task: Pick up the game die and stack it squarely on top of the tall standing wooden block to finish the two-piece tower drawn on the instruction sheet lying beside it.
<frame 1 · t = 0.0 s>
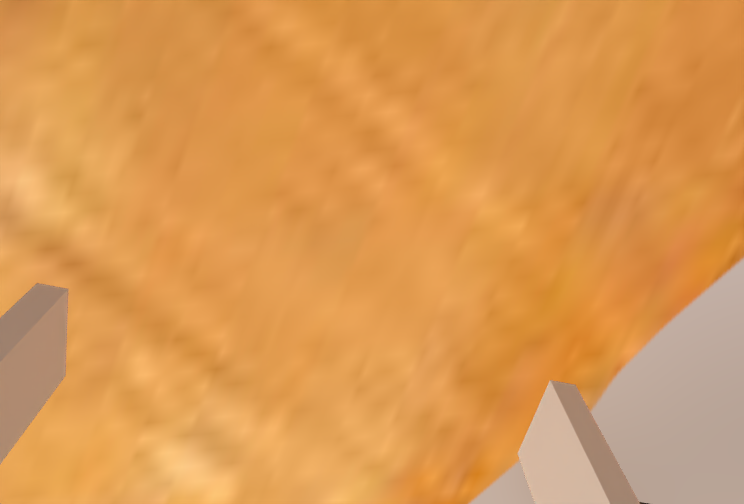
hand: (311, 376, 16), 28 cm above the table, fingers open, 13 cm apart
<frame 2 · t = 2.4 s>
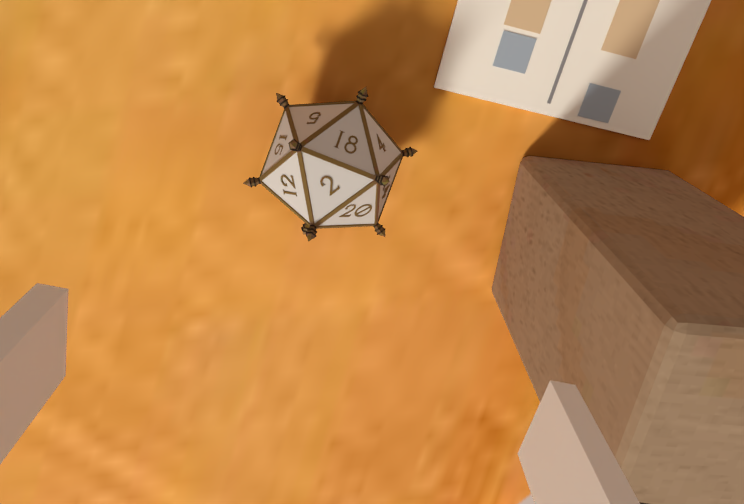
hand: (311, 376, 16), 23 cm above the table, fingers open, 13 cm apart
instruction page: (573, 29, 34), on the table
wooden block: (575, 231, 40), on the table
game die: (334, 147, 37), on the table
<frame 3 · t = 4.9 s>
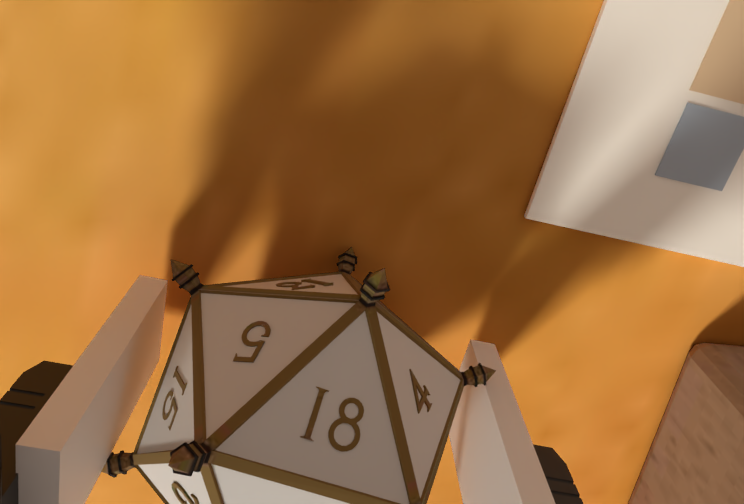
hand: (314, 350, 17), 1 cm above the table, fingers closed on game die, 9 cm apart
game die: (315, 327, 18), on the table, touching gripper
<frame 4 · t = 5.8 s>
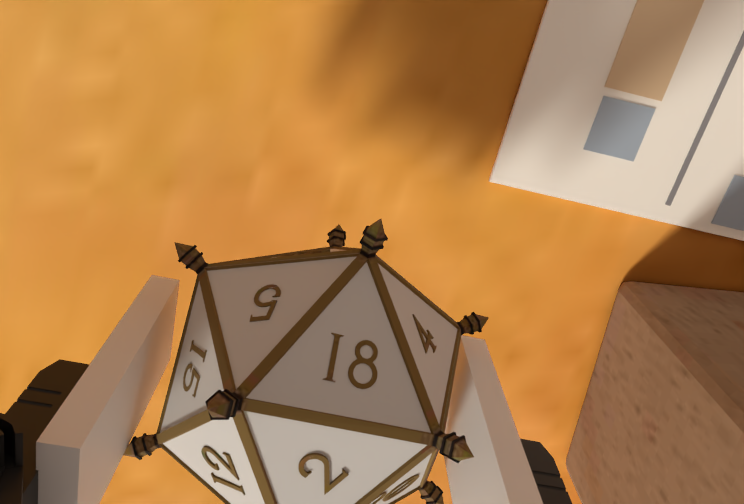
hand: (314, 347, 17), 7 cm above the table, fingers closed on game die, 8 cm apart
instruction page: (714, 93, 21), on the table
wooden block: (692, 383, 27), on the table
game die: (311, 307, 19), point 5 cm above the table, touching gripper
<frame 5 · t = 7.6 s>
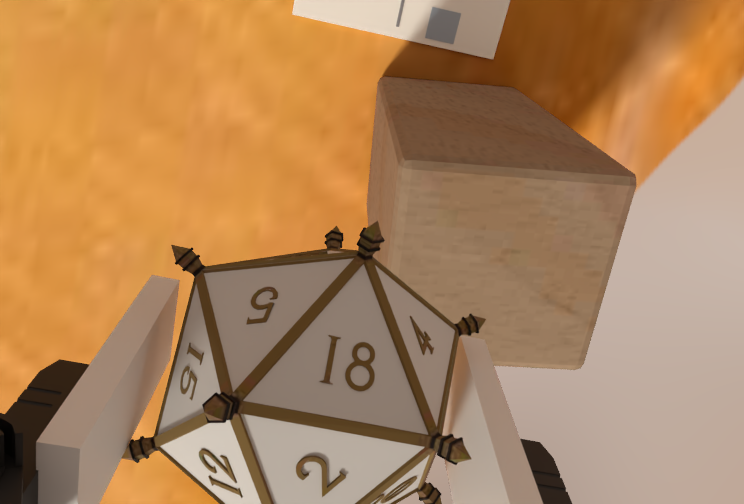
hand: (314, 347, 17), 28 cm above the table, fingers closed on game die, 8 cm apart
wooden block: (438, 148, 44), on the table
game die: (309, 309, 19), point 26 cm above the table, touching gripper
when the fingers open (22 cm above the table, at t = 9.5 s): game die stays where it is, resting on wooden block.
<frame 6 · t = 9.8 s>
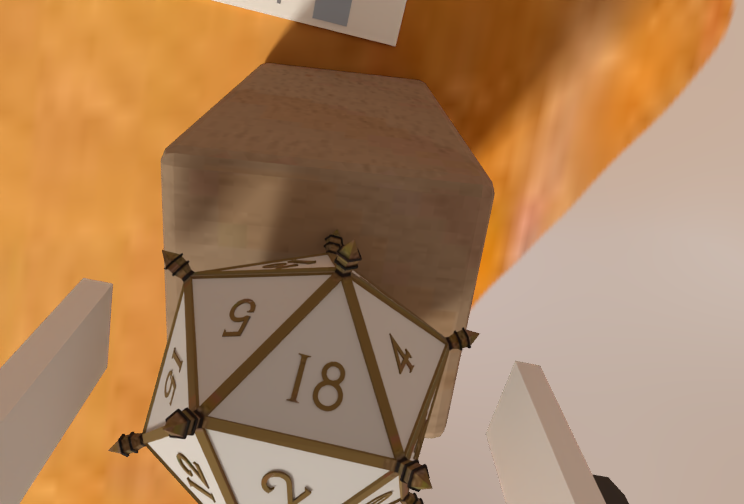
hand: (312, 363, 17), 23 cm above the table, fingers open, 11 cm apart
wooden block: (336, 151, 37), on the table, touching game die
game die: (311, 309, 19), point 20 cm above the table, touching wooden block
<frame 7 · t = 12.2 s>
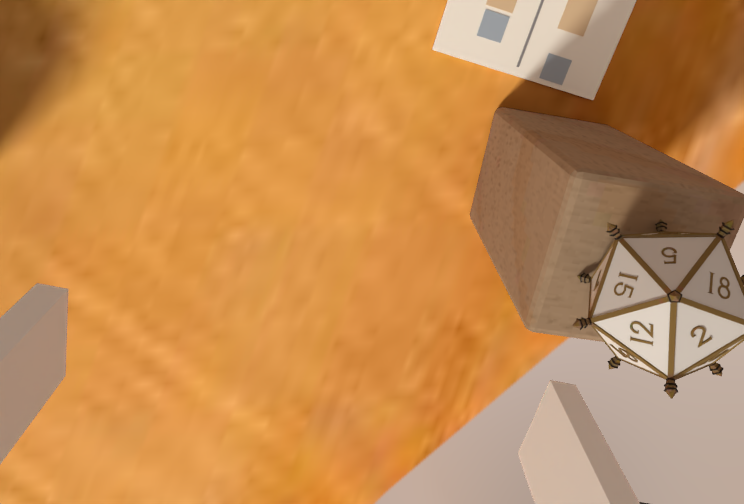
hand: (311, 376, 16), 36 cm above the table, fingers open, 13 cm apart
instruction page: (537, 11, 46), on the table
wooden block: (536, 171, 51), on the table, touching game die
game die: (630, 265, 33), point 20 cm above the table, touching wooden block
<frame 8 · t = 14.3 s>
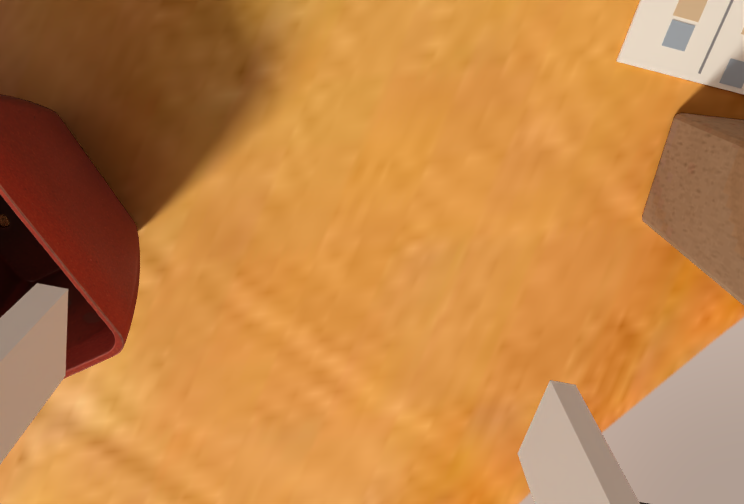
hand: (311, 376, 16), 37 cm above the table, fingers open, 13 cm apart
instruction page: (722, 18, 47), on the table
wooden block: (707, 172, 53), on the table, touching game die
plant pot: (43, 201, 52), on the table
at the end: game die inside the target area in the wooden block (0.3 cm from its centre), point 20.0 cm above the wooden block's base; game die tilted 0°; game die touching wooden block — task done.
